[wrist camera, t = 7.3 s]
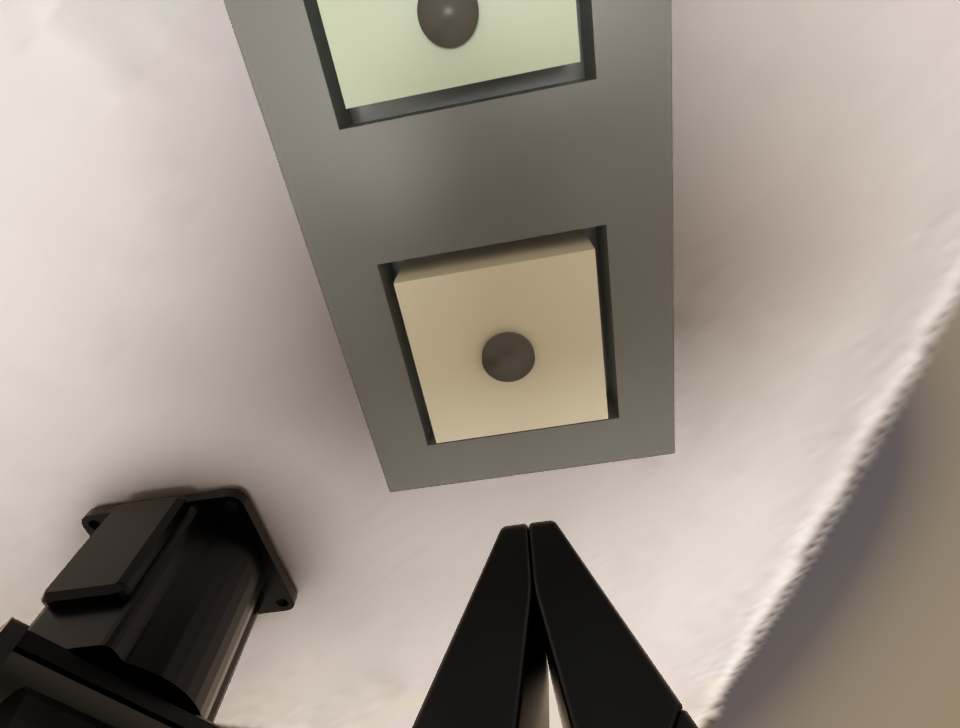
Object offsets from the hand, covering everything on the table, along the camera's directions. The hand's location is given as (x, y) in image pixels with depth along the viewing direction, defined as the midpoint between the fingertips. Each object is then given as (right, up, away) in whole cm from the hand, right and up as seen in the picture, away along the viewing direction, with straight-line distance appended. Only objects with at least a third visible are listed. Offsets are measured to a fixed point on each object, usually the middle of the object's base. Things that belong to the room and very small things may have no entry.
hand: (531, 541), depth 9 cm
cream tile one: (0, +4, +7) cm, 9 cm away
